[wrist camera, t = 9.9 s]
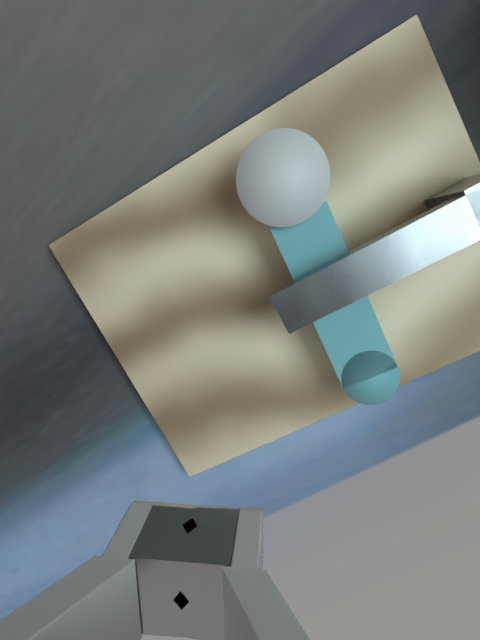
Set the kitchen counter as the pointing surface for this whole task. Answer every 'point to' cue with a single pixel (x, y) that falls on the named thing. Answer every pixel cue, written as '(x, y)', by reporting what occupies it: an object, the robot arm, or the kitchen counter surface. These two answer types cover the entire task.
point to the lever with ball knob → (315, 252)
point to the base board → (279, 259)
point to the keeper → (385, 257)
